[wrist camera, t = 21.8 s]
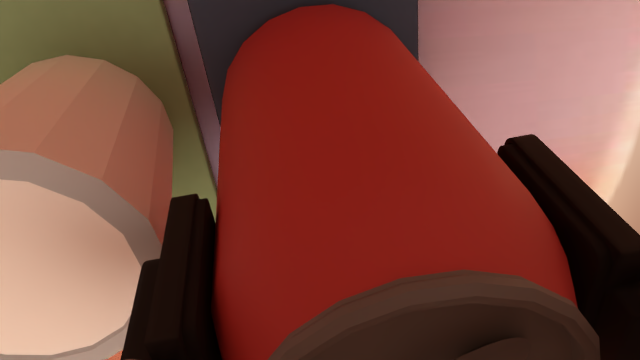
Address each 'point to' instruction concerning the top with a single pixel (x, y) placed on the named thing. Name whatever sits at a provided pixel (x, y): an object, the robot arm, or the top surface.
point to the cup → (77, 205)
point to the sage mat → (115, 63)
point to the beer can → (373, 212)
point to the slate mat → (267, 3)
